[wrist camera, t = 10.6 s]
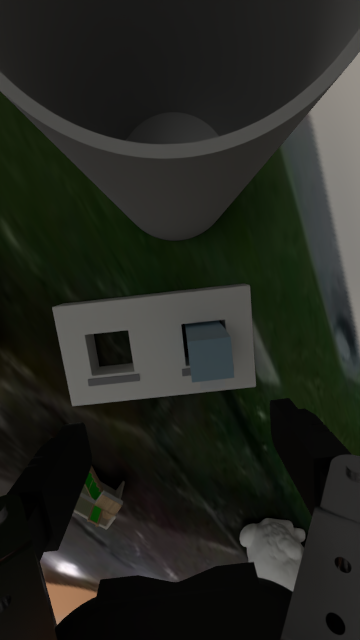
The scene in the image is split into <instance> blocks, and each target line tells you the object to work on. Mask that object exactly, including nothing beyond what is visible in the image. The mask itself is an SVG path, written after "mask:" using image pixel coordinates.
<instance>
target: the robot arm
mask: <svg viewBox="0 0 360 640" xmlns="http://www.w3.org/2000/svg"><path fill="white" fill-rule="evenodd" d="M270 418H271V434H272V440H273V443H274V446H275V449H276V451H277V452H278V454H279V456H280V458H281V460H282V462H283V464H284V465H285V467H286V469H287V471H288V473H289V475H290V477H291V478H292V480H293V482H294V484H295V486H296V488H297V490H298V491H299V493H300V495H301V497H302V499H303V501H304V503H305V504H306V506H307V508H308V510H309V512H310V514H311V516H312V520H311V524H310V528H309V532H308V536H307V540H306V543H305V547H304V551H303V555H302V559H301V563H300V566H299V570H298V574H297V578H296V582H295V586H294V589H293V592H292V591H291V590H289V589H288V588H286V587H284V586H282V585H280V584H278V583H276V582H273V581H270V580H267V579H264V578H259V577H258V576H257V572H256V568H255V565H254V562H248V563H240V564H231V565H223V566H215V567H213V568H211V569H208V570H206V571H204V572H201V573H199V574H197V575H194V576H192V577H190V578H188V579H185V580H183V581H180V582H169V581H164V580H159V579H154V578H149V577H144V576H139V575H137V576H128V577H120V578H111V579H102V580H100V584H99V588H98V592H97V596H96V597H95V598H92V599H91V600H89V601H87V602H85V603H84V604H82V605H80V606H79V607H78V608H76V609H75V610H73V611H72V612H71V613H70V614H69V615H67V616H66V617H65V618H64V619H63V620H62V621H61V622H60V623H59V624H58V625H57V624H56V620H55V616H54V613H53V609H52V606H51V601H50V598H49V594H48V591H47V587H46V583H45V579H44V576H43V572H42V568H41V565H40V560H41V557H42V555H43V553H44V552H48V551H57V550H58V549H59V546H60V544H61V541H62V539H63V536H64V534H65V531H66V529H67V526H68V524H69V521H70V519H71V517H72V514H73V512H74V509H75V507H76V504H77V502H78V499H79V497H80V494H81V492H82V489H83V487H84V484H85V482H86V479H87V477H88V474H89V472H90V469H91V464H92V455H91V450H90V445H89V441H88V436H87V432H86V427H85V425H84V423H74V424H66V425H64V426H63V427H62V428H61V430H60V431H59V433H58V434H57V436H56V437H55V438H51V439H50V440H49V441H48V442H47V443H45V444H44V445H43V446H42V447H40V449H39V450H38V452H37V453H36V454H35V456H34V459H32V460H31V461H30V463H29V464H28V467H26V468H25V470H24V471H23V472H22V474H21V475H20V477H19V478H18V479H17V481H16V482H15V484H14V485H13V486H12V488H11V489H10V491H9V492H8V493H7V495H4V496H1V497H0V640H360V457H359V456H355V455H352V454H351V453H350V452H349V451H348V450H347V449H346V447H345V446H344V445H343V444H342V443H341V442H340V441H339V440H338V439H337V438H336V437H335V435H334V434H333V433H332V432H330V431H329V429H328V428H327V427H326V426H325V425H323V422H322V421H321V420H320V419H319V418H318V417H317V416H316V415H315V414H313V413H311V412H310V411H308V410H306V409H298V408H297V407H296V406H295V405H294V403H293V402H292V401H291V400H290V399H289V398H285V399H277V400H271V401H270Z"/></svg>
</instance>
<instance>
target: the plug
mask: <svg viewBox="0 0 360 640" xmlns="http://www.w3.org/2000/svg"><path fill="white" fill-rule="evenodd" d="M185 328H186V336H187V345H188V353H189V362H190V370H191V378H192V383H193V382H200V387H201V391H202V390H210V389H219V388H225V379H227V378H234V369H233V357H232V346H231V337H230V335H229V334H228V332H227V331H226V330H225V328H224V327H223V326H222V324H221V323H220V322H219V320H215V321H206V322H197V323H188V324H185Z"/></svg>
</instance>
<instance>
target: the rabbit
mask: <svg viewBox="0 0 360 640" xmlns="http://www.w3.org/2000/svg"><path fill="white" fill-rule="evenodd" d="M304 540H305V532H304V530H303V529H300V528H293V524H292V523H291V521H289V520H279V519H272V518H265V519H264V520H262V521H261V522H260V523H258V524H254V523H253V524H249V525H247V526H245V527H244V528H243V529H242V531H241V533H240V542H241V544H242V545H243V546H244V547H247V556H248V559H249V562H254V565H255V568H256V572H257V576H258V577H259V578H264V579H267V580H270V581H273V582H276V583H278V584H280V585H282V586H284V587H286V588H288V589H289V590H291V591H292V592H293V589H294V586H295V582H296V578H297V574H298V570H299V566H300V563H301V559H302V555H303V551H304V547H303V546H302V545H301V543H300V542H303V541H304Z"/></svg>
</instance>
